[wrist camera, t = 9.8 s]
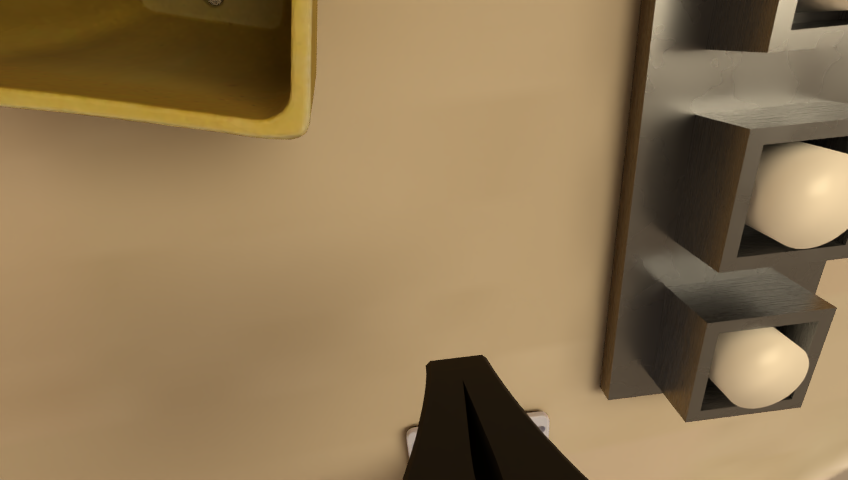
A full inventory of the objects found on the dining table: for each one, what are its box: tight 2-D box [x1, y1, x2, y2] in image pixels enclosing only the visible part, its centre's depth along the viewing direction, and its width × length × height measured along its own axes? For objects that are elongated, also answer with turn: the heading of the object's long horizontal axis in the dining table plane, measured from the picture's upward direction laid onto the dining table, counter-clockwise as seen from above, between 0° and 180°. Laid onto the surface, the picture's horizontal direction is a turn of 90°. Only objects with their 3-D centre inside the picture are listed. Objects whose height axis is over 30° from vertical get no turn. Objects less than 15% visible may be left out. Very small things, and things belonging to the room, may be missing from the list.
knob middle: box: [745, 141, 848, 249], centre depth 18 cm, size 4×4×4 cm
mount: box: [600, 0, 848, 422], centre depth 18 cm, size 24×10×4 cm, turn 5°
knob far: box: [709, 327, 809, 409], centre depth 21 cm, size 4×4×4 cm
